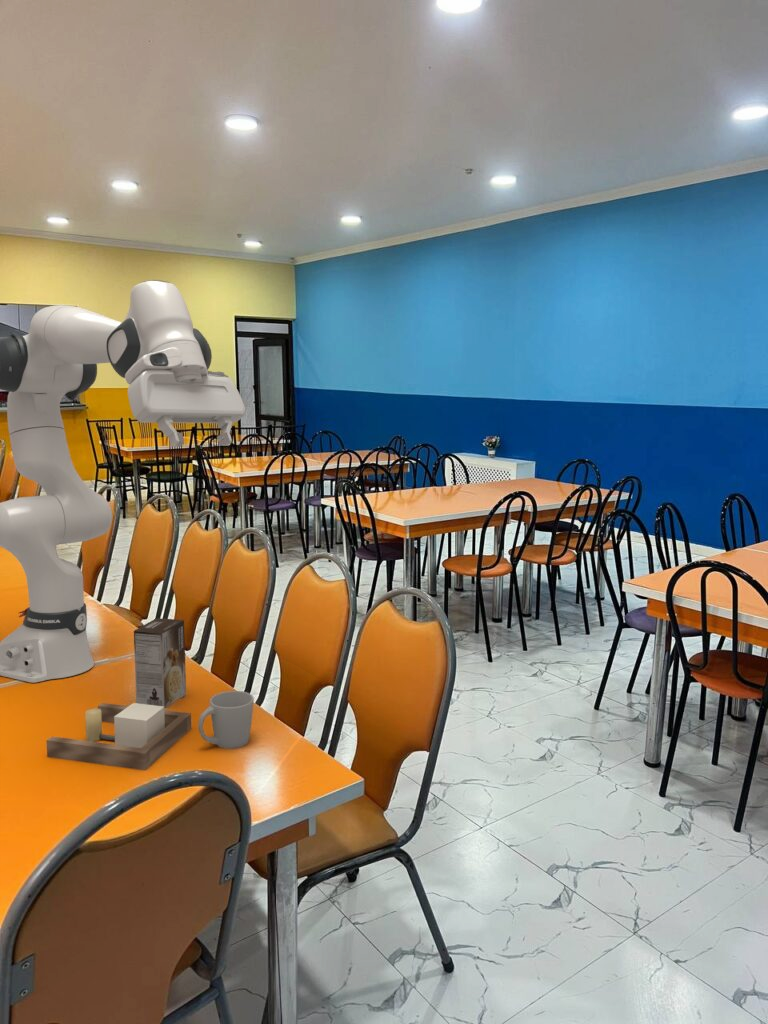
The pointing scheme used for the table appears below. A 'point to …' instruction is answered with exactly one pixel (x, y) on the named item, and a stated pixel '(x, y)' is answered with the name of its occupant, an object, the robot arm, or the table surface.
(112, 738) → the white cube and knob
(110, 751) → the shelf lane
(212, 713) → the cup
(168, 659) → the coffee box
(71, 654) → the robot arm
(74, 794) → the table surface
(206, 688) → the table surface
